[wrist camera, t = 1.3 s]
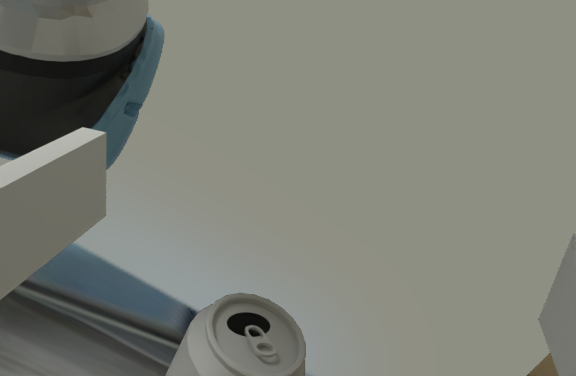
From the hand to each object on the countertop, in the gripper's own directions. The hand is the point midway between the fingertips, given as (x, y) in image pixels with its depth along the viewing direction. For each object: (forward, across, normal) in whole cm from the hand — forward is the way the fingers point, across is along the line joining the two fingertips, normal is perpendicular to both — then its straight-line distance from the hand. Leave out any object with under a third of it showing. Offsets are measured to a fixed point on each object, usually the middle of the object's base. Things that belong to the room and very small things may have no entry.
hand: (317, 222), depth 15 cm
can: (+12, -7, -25) cm, 28 cm away
